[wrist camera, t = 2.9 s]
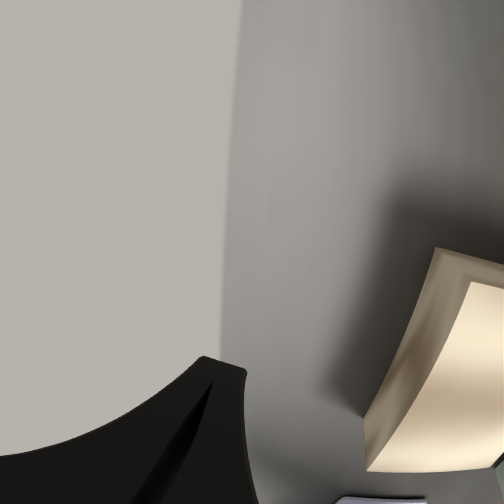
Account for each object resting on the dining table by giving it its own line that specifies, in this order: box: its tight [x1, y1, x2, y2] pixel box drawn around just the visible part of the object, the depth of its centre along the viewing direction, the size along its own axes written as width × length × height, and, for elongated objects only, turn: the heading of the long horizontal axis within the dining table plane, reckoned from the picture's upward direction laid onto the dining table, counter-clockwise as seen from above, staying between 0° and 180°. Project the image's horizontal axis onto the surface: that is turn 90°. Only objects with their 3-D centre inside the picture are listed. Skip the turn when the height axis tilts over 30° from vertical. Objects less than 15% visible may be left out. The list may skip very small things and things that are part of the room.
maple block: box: [363, 247, 504, 472], centre depth 11 cm, size 10×8×4 cm
